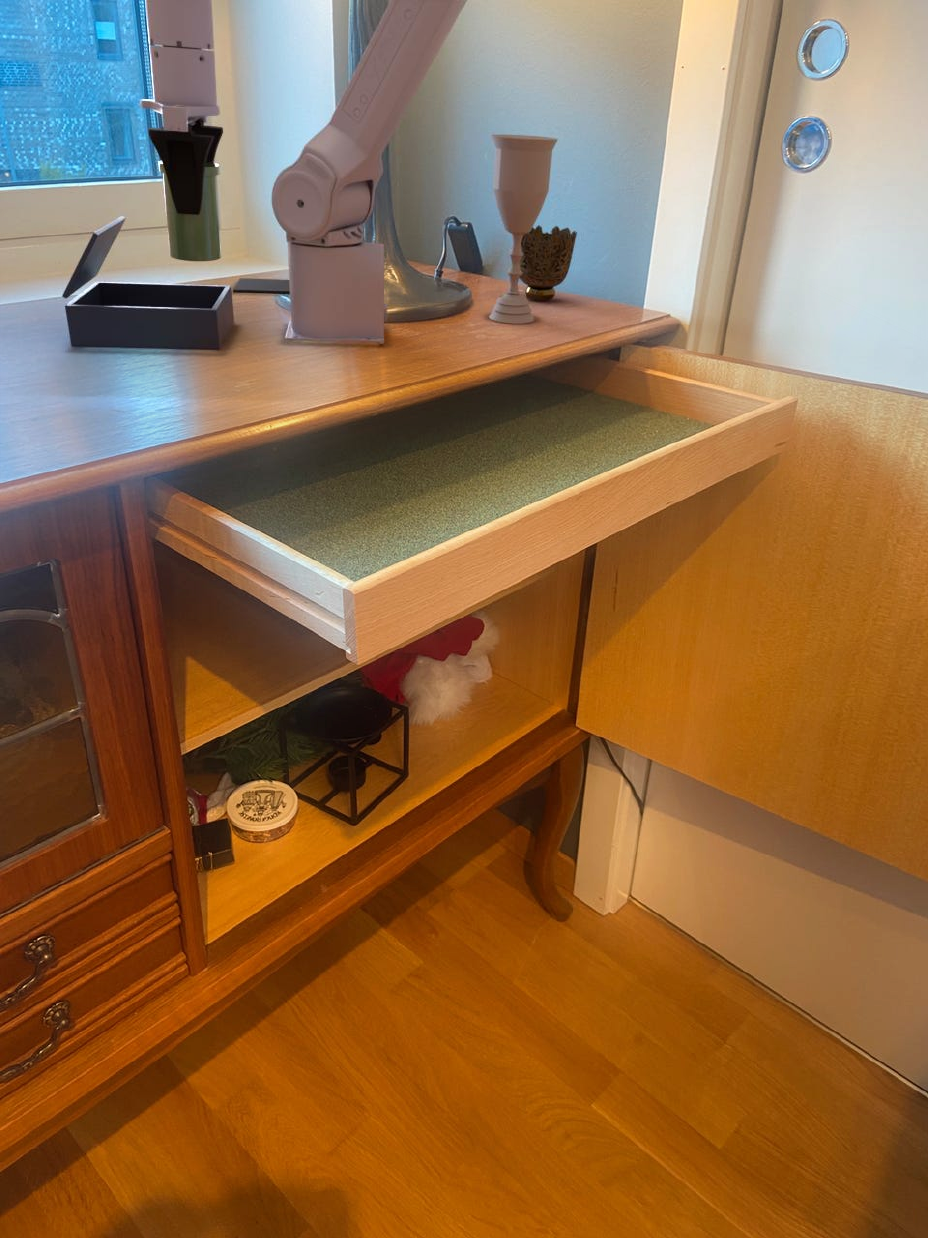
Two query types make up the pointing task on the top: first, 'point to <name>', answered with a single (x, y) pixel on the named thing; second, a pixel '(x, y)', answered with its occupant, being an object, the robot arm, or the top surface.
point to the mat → (262, 286)
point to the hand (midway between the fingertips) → (193, 209)
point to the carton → (151, 316)
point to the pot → (195, 222)
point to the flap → (94, 256)
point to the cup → (545, 261)
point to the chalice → (519, 207)
